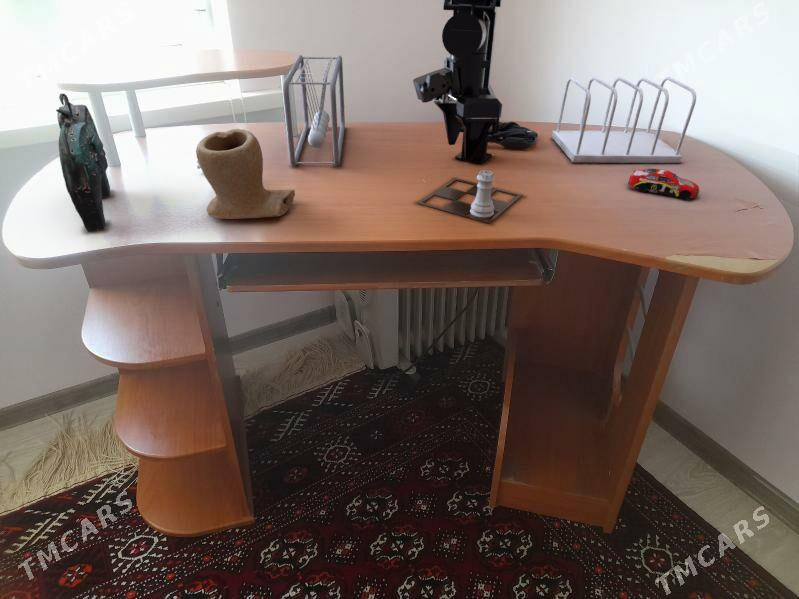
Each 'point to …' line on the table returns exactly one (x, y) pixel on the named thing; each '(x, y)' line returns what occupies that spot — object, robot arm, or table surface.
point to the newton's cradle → (321, 117)
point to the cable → (513, 136)
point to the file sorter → (620, 143)
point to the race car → (663, 183)
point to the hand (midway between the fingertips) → (459, 151)
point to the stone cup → (238, 177)
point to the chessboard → (465, 208)
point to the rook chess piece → (483, 196)
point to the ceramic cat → (83, 163)
